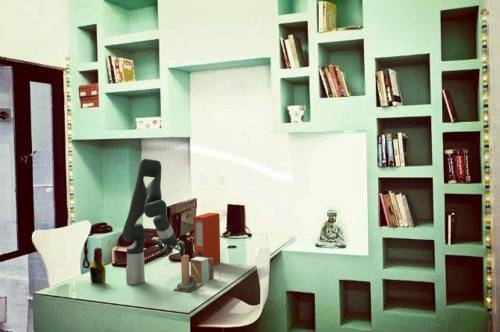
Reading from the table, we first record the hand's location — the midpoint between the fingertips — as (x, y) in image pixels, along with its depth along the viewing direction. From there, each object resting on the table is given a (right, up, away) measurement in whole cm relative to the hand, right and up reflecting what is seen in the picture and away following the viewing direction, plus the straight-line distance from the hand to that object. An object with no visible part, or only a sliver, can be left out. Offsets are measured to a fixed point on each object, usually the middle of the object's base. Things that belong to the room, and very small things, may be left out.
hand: (175, 254), depth 245 cm
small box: (+10, -20, +24) cm, 32 cm away
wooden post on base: (+5, -19, +11) cm, 22 cm away
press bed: (+8, -20, +18) cm, 28 cm away
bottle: (-48, -21, +26) cm, 58 cm away
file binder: (+12, -17, +57) cm, 60 cm away
